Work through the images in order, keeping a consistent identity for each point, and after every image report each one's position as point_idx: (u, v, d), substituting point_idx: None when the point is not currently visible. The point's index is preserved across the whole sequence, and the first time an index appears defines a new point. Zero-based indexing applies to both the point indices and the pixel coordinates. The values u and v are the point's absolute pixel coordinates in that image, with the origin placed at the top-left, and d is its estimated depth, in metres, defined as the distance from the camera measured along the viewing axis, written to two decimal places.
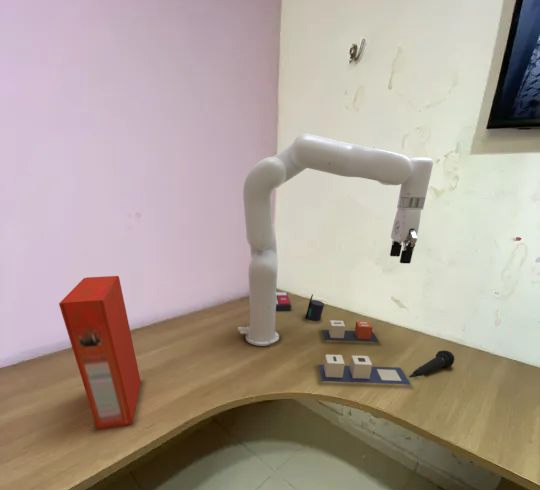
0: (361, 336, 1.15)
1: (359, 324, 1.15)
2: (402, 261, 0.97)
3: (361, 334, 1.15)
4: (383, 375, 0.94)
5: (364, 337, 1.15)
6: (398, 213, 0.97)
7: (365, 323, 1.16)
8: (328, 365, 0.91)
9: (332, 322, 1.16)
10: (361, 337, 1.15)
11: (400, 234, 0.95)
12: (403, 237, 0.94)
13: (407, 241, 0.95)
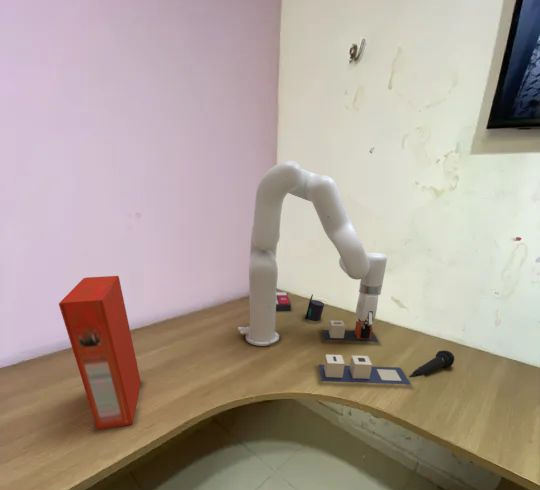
0: None
1: (359, 324, 1.15)
2: (362, 336, 1.15)
3: None
4: (383, 375, 0.94)
5: None
6: (360, 295, 1.12)
7: (365, 323, 1.16)
8: (328, 365, 0.91)
9: (332, 322, 1.16)
10: None
11: (361, 314, 1.10)
12: (363, 317, 1.09)
13: (366, 321, 1.12)
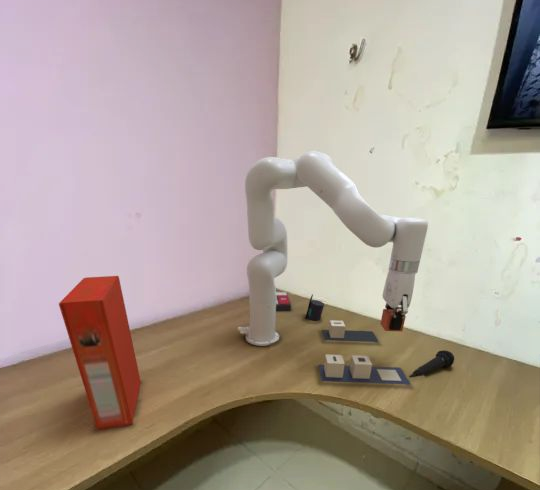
0: None
1: (388, 312, 0.91)
2: (392, 328, 0.90)
3: None
4: (383, 375, 0.94)
5: None
6: (390, 274, 0.87)
7: None
8: (328, 365, 0.91)
9: (332, 322, 1.16)
10: None
11: (392, 299, 0.85)
12: (395, 303, 0.84)
13: (398, 308, 0.87)
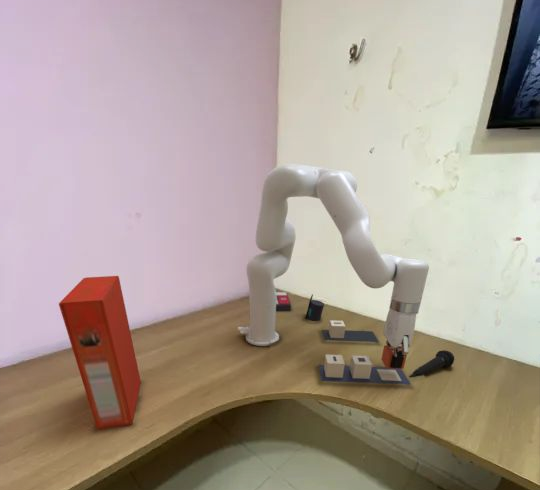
0: None
1: (389, 350, 0.90)
2: (393, 366, 0.89)
3: None
4: (383, 375, 0.94)
5: None
6: (391, 313, 0.87)
7: None
8: (328, 365, 0.91)
9: (332, 322, 1.16)
10: None
11: (393, 339, 0.85)
12: (396, 343, 0.84)
13: (399, 347, 0.86)
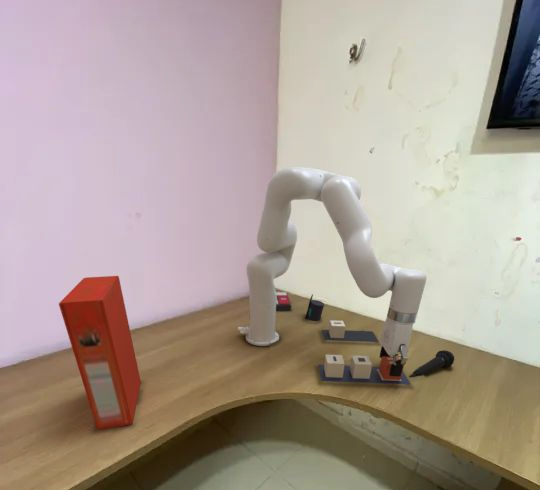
0: (389, 376, 0.92)
1: (386, 361, 0.92)
2: (392, 374, 0.88)
3: None
4: None
5: (392, 377, 0.92)
6: (388, 321, 0.88)
7: None
8: (328, 365, 0.91)
9: (332, 322, 1.16)
10: (388, 378, 0.92)
11: (390, 347, 0.86)
12: (393, 352, 0.85)
13: (397, 355, 0.86)
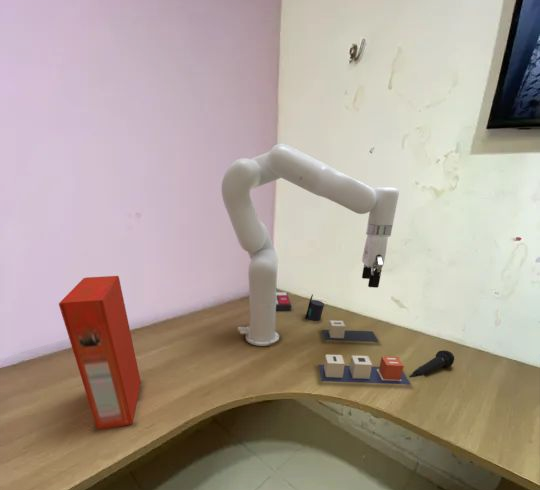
0: (389, 376, 0.92)
1: (386, 361, 0.92)
2: (370, 285, 1.00)
3: (389, 374, 0.91)
4: None
5: (392, 377, 0.92)
6: (367, 238, 1.00)
7: (393, 359, 0.93)
8: (328, 365, 0.91)
9: (332, 322, 1.16)
10: (388, 378, 0.92)
11: (368, 259, 0.98)
12: (370, 262, 0.97)
13: (375, 266, 0.98)
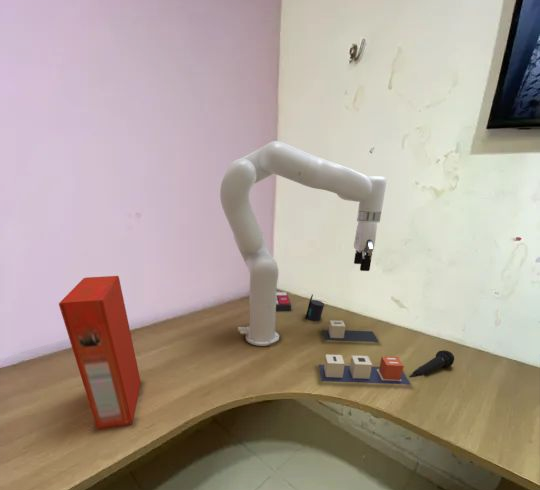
0: (389, 376, 0.92)
1: (386, 361, 0.92)
2: (362, 269, 1.07)
3: (389, 374, 0.91)
4: None
5: (392, 377, 0.92)
6: (358, 225, 1.07)
7: (393, 359, 0.93)
8: (328, 365, 0.91)
9: (332, 322, 1.16)
10: (388, 378, 0.92)
11: (359, 244, 1.04)
12: (362, 247, 1.04)
13: (366, 251, 1.05)
